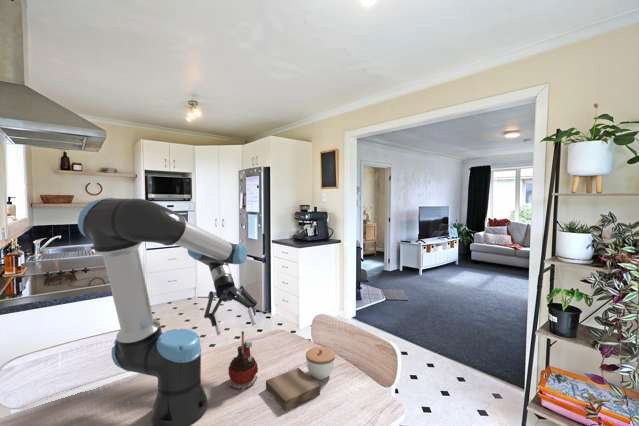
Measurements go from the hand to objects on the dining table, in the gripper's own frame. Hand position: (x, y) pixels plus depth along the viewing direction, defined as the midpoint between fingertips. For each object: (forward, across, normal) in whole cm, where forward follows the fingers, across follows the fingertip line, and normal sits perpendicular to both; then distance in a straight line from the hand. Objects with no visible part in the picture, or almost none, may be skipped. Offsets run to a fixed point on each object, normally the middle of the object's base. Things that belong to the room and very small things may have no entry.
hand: (237, 328), depth 111 cm
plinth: (+27, -10, +5) cm, 29 cm away
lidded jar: (+26, -23, +3) cm, 35 cm away
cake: (+17, +1, -6) cm, 18 cm away
